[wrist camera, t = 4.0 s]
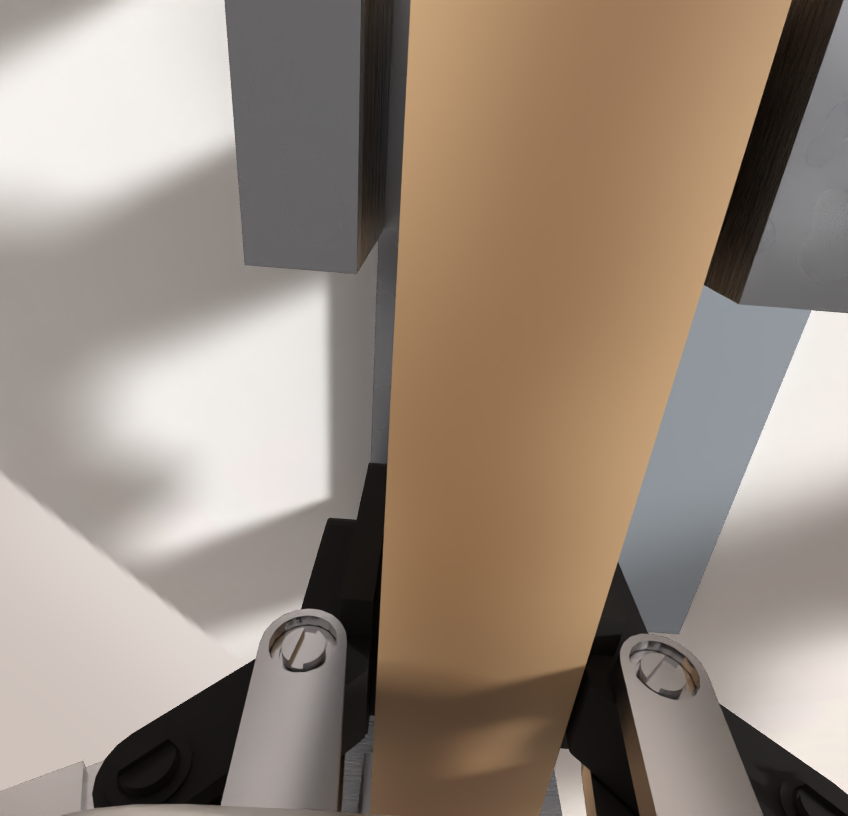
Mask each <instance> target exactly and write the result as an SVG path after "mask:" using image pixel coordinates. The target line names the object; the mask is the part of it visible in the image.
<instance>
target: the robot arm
mask: <svg viewBox="0 0 848 816" xmlns="http://www.w3.org/2000/svg"><path fill="white" fill-rule="evenodd" d="M386 483H387V464H383V463H369V465H368V470H367V474H366V479H365V484H364V488H363V493H362V497H361V502H360V507H359V511H358V516H357V520H352V519H338V518H329V519H328V520H327V523H326V526H325V530H324V533H323V536H322V540H321V543H320V547H319V550H318V553H317V557H316V560H315V563H314V567H313V570H312V574H311V577H310V580H309V584H308V587H307V591H306V594H305V597H304V601H303V604H302V608H301V610H295V611H292V612H290V613H287V614H284V615H282V616H281V617H279V618H278V619H277V620H275V621H274V622H272V623H271V625H270V626H269V627H268V628H267V629H266V630H265V632H264V634H263V636H262V638H261V641H260V643H259V647H258V652H257V656H256V659H254V660H253V661H251V662H249V663H248V664H246V665H244V666H243V667H241V668H239V669H238V670H236V671H234V672H233V673H231V674H229V675H228V676H226V677H225V678H223V679H221V680H220V681H218V682H216V683H215V684H213V685H211V686H210V687H208V688H206V689H205V690H203V691H202V692H200V693H198V694H197V695H195V696H193V697H192V698H190V699H188V700H187V701H185V702H183V703H182V704H180V705H179V706H177V707H175V708H174V709H172V710H170V711H169V712H167V713H165V714H164V715H162V716H160V717H159V718H157V719H156V720H154V721H152V722H151V723H149V724H147V725H146V726H144V727H142V728H141V729H139V730H137V731H136V732H134V733H133V734H131V735H130V736H129V737H127V738H126V739H125V740H123V741H122V742H121V743H119V744H118V745H117V746H116V747H115V748H114V750H113V751H112V752H111V753H110V754H109V755H108V756H107V758H106V759H105V760H104V761H101V762H99V763H96V764H93V765H91V766H88V767H85V764H84V762H83V761H81V762H78V763H75V764H73V765H70V766H67V767H65V768H62V769H59V770H56V771H54V772H51V773H48V774H45V775H43V776H40V777H37V778H35V779H32V780H29V781H26V782H24V783H21V784H18V785H15V786H13V787H10V788H7V789H5V790H2V791H0V816H393V815H377V814H362V813H346V812H342V811H343V793H344V776H345V759H346V753H347V752H348V751H349V750H351V749H352V748H353V747H354V746H355V745H357V744H358V743H359V742H360V741H361V740H363V739H364V738H365V734H368V728H369V720H370V715H371V716H375V702H376V682H377V662H378V642H379V622H380V602H381V582H382V562H383V542H384V523H385V503H386ZM560 748H565V749H569V751H570V753H571V754H572V755H573V756H574V757H576V758H577V759H578V760H579V761H580V762H581V763H582V766H581V775H582V782H583V790H584V797H585V805H586V813H587V816H848V795H847V794H846V793H845V792H844V791H843V790H841V789H840V788H839V787H838V786H837V785H835V784H834V783H833V782H831V781H830V780H828V779H827V778H825V777H824V776H823V775H821V774H820V773H818V772H817V771H815V770H814V769H813V768H811V767H810V766H808V765H807V764H805V763H804V762H802V761H801V760H800V759H798V758H797V757H795V756H794V755H792V754H791V753H790V752H788V751H787V750H785V749H784V748H782V747H781V746H780V745H778V744H777V743H775V742H774V741H772V740H771V739H769V738H768V737H767V736H765V735H764V734H762V733H761V732H759V731H758V730H757V729H755V728H754V727H752V726H751V725H749V724H748V723H746V722H745V721H744V720H742V719H741V718H739V717H738V716H736V715H735V714H734V713H732V712H731V711H729V710H728V709H726V708H725V707H723V706H722V705H721V704H719V702H718V699H717V697H716V694H715V692H714V689H713V687H712V684H711V682H710V679H709V677H708V675H707V673H706V671H705V669H704V667H703V666H702V664H701V663H700V662H699V661H698V659H697V658H696V657H695V656H694V655H693V654H692V653H691V652H690V651H688V650H687V649H686V648H684V647H683V646H682V645H680V644H679V643H677V642H674V641H672V640H670V639H668V638H666V637H663V636H659V635H655V634H648V632H647V629H646V627H645V625H644V622H643V620H642V617H641V615H640V613H639V610H638V608H637V606H636V603H635V601H634V598H633V596H632V594H631V591H630V589H629V586H628V584H627V582H626V579H625V577H624V575H623V572H622V570H621V567H620V565H619V563H617V566H616V569H615V572H614V576H613V579H612V582H611V585H610V588H609V592H608V595H607V598H606V601H605V605H604V608H603V611H602V614H601V618H600V621H599V624H598V627H597V630H596V634H595V637H594V640H593V643H592V647H591V650H590V653H589V656H588V659H587V663H586V666H585V669H584V672H583V676H582V679H581V682H580V685H579V689H578V692H577V695H576V698H575V701H574V705H573V708H572V711H571V714H570V718H569V721H568V724H567V727H566V730H565V734H564V737H563V740H562V743H561V747H560Z"/></svg>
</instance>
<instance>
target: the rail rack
mask: <svg viewBox="0 0 848 816" xmlns="http://www.w3.org/2000/svg"><path fill="white" fill-rule="evenodd" d="M410 5H411V0H225V12H226V25H227V38H228V51H229V64H230V77H231V90H232V103H233V116H234V129H235V142H236V155H237V168H238V181H239V194H240V207H241V221H242V234H243V247H244V260H245V265H251V266H263V267H276V268H288V269H301V270H314V271H326V272H339V273H351V274H357V272H358V271H359V269H360V267H361V266H362V264H363V263H364V261H365V259H366V258H367V256H368V254H369V253H370V251H371V250H372V248H373V246H374V245H375V243H376V241H377V240H378V268H377V297H376V327H375V357H374V386H373V416H372V445H371V463H383V464H387V463H388V443H389V423H390V403H391V383H392V363H393V343H394V323H395V304H396V284H397V264H398V244H399V224H400V204H401V184H402V164H403V144H404V124H405V104H406V84H407V65H408V45H409V25H410ZM704 285H705V286H706V287H708V288H710V289H712V290H714V291H715V292H717V293H719V294H721V295H723V296H724V297H726V298H728V299H730V300H732V301H733V302H735V303H737V304H740V305H753V306H765V307H778V308H791V309H803V310H816V311H828V312H841V313H848V0H792V1H791V4H790V8H789V11H788V14H787V17H786V20H785V24H784V27H783V30H782V33H781V37H780V40H779V43H778V46H777V50H776V53H775V56H774V59H773V62H772V66H771V69H770V72H769V75H768V79H767V82H766V85H765V88H764V91H763V95H762V98H761V101H760V104H759V108H758V111H757V114H756V117H755V121H754V124H753V127H752V130H751V133H750V137H749V140H748V143H747V146H746V150H745V153H744V156H743V159H742V162H741V166H740V169H739V172H738V175H737V179H736V182H735V185H734V188H733V192H732V195H731V198H730V201H729V204H728V208H727V211H726V214H725V217H724V221H723V224H722V227H721V230H720V233H719V237H718V240H717V243H716V246H715V250H714V253H713V256H712V259H711V263H710V266H709V269H708V272H707V275H706V279H705V282H704ZM374 722H375V716H371V715H370V720H369V728H368V734H365V738H364V739H363V740H361V741H360V742H359V743H358V744H357V745H355V746H354V747H353V748H352V749H351V750H349V751H348V752H347V753H346V759H345V776H344V793H343V811H342V812H346V813H362V814H370V801H371V781H372V762H373V742H374ZM539 816H562V811H561V806H560V800H559V795H558V789H557V783H556V778H555V772H554V769H553V772H552V776H551V779H550V782H549V785H548V789H547V792H546V795H545V798H544V801H543V805H542V808H541V811H540V814H539Z"/></svg>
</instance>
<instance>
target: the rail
mask: <svg viewBox="0 0 848 816" xmlns="http://www.w3.org/2000/svg"><path fill="white" fill-rule="evenodd" d="M791 1H792V0H411V5H410V25H409V45H408V65H407V84H406V104H405V124H404V144H403V164H402V184H401V204H400V224H399V244H398V264H397V284H396V304H395V323H394V343H393V363H392V383H391V403H390V423H389V443H388V463H387V483H386V503H385V523H384V542H383V562H382V582H381V602H380V622H379V642H378V662H377V682H376V702H375V722H374V742H373V762H372V781H371V801H370V814H377V815H393V816H539V814H540V811H541V808H542V805H543V801H544V798H545V795H546V792H547V789H548V785H549V782H550V779H551V776H552V772H553V769H554V766H555V763H556V760H557V756H558V753H559V750H560V747H561V743H562V740H563V737H564V734H565V730H566V727H567V724H568V721H569V718H570V714H571V711H572V708H573V705H574V701H575V698H576V695H577V692H578V689H579V685H580V682H581V679H582V676H583V672H584V669H585V666H586V663H587V659H588V656H589V653H590V650H591V647H592V643H593V640H594V637H595V634H596V630H597V627H598V624H599V621H600V618H601V614H602V611H603V608H604V605H605V601H606V598H607V595H608V592H609V588H610V585H611V582H612V579H613V576H614V572H615V569H616V566H617V563H618V559H619V556H620V553H621V550H622V547H623V543H624V540H625V537H626V534H627V530H628V527H629V524H630V521H631V517H632V514H633V511H634V508H635V505H636V501H637V498H638V495H639V492H640V488H641V485H642V482H643V479H644V476H645V472H646V469H647V466H648V463H649V459H650V456H651V453H652V450H653V446H654V443H655V440H656V437H657V434H658V430H659V427H660V424H661V421H662V417H663V414H664V411H665V408H666V405H667V401H668V398H669V395H670V392H671V388H672V385H673V382H674V379H675V375H676V372H677V369H678V366H679V363H680V359H681V356H682V353H683V350H684V346H685V343H686V340H687V337H688V334H689V330H690V327H691V324H692V321H693V317H694V314H695V311H696V308H697V304H698V301H699V298H700V295H701V292H702V288H703V285H704V282H705V279H706V275H707V272H708V269H709V266H710V263H711V259H712V256H713V253H714V250H715V246H716V243H717V240H718V237H719V233H720V230H721V227H722V224H723V221H724V217H725V214H726V211H727V208H728V204H729V201H730V198H731V195H732V192H733V188H734V185H735V182H736V179H737V175H738V172H739V169H740V166H741V162H742V159H743V156H744V153H745V150H746V146H747V143H748V140H749V137H750V133H751V130H752V127H753V124H754V121H755V117H756V114H757V111H758V108H759V104H760V101H761V98H762V95H763V91H764V88H765V85H766V82H767V79H768V75H769V72H770V69H771V66H772V62H773V59H774V56H775V53H776V50H777V46H778V43H779V40H780V37H781V33H782V30H783V27H784V24H785V20H786V17H787V14H788V11H789V8H790V4H791Z"/></svg>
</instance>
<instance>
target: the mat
mask: <svg viewBox="0 0 848 816" xmlns="http://www.w3.org/2000/svg"><path fill="white" fill-rule="evenodd" d="M810 312H811V310H803V309H791V308H778V307H765V306H753V305H740V304H737V303H735V302H733V301H732V300H730V299H728V298H726V297H724V296H723V295H721V294H719V293H717V292H715V291H714V290H712V289H710V288H708V287H706V286H705V285H703V288H702V292H701V295H700V298H699V301H698V304H697V308H696V311H695V314H694V317H693V321H692V324H691V327H690V330H689V334H688V337H687V340H686V343H685V346H684V350H683V353H682V356H681V359H680V363H679V366H678V369H677V372H676V375H675V379H674V382H673V385H672V388H671V392H670V395H669V398H668V401H667V405H666V408H665V411H664V414H663V417H662V421H661V424H660V427H659V430H658V434H657V437H656V440H655V443H654V446H653V450H652V453H651V456H650V459H649V463H648V466H647V469H646V472H645V476H644V479H643V482H642V485H641V488H640V492H639V495H638V498H637V501H636V505H635V508H634V511H633V514H632V517H631V521H630V524H629V527H628V530H627V534H626V537H625V540H624V543H623V547H622V550H621V553H620V556H619V559H618V563H619V565H620V567H621V570H622V572H623V575H624V577H625V579H626V582H627V584H628V586H629V589H630V591H631V594H632V596H633V598H634V601H635V603H636V606H637V608H638V610H639V613H640V615H641V617H642V620H643V622H644V625H645V627H646V629H647V632H657V633H671V634H679V632H680V630H681V627H682V625H683V622H684V620H685V617H686V615H687V613H688V610H689V608H690V605H691V603H692V600H693V598H694V595H695V593H696V591H697V588H698V586H699V583H700V581H701V578H702V576H703V573H704V571H705V569H706V566H707V564H708V561H709V559H710V556H711V554H712V552H713V549H714V547H715V544H716V542H717V539H718V537H719V534H720V532H721V530H722V527H723V525H724V522H725V520H726V517H727V515H728V512H729V510H730V508H731V505H732V503H733V500H734V498H735V495H736V493H737V491H738V488H739V486H740V483H741V481H742V478H743V476H744V473H745V471H746V469H747V466H748V464H749V461H750V459H751V456H752V454H753V451H754V449H755V447H756V444H757V442H758V439H759V437H760V434H761V432H762V430H763V427H764V425H765V422H766V420H767V417H768V415H769V412H770V410H771V408H772V405H773V403H774V400H775V398H776V395H777V393H778V390H779V388H780V386H781V383H782V381H783V378H784V376H785V373H786V371H787V369H788V366H789V364H790V361H791V359H792V356H793V354H794V351H795V349H796V347H797V344H798V342H799V339H800V337H801V334H802V332H803V329H804V327H805V325H806V322H807V320H808V317H809V315H810Z"/></svg>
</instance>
